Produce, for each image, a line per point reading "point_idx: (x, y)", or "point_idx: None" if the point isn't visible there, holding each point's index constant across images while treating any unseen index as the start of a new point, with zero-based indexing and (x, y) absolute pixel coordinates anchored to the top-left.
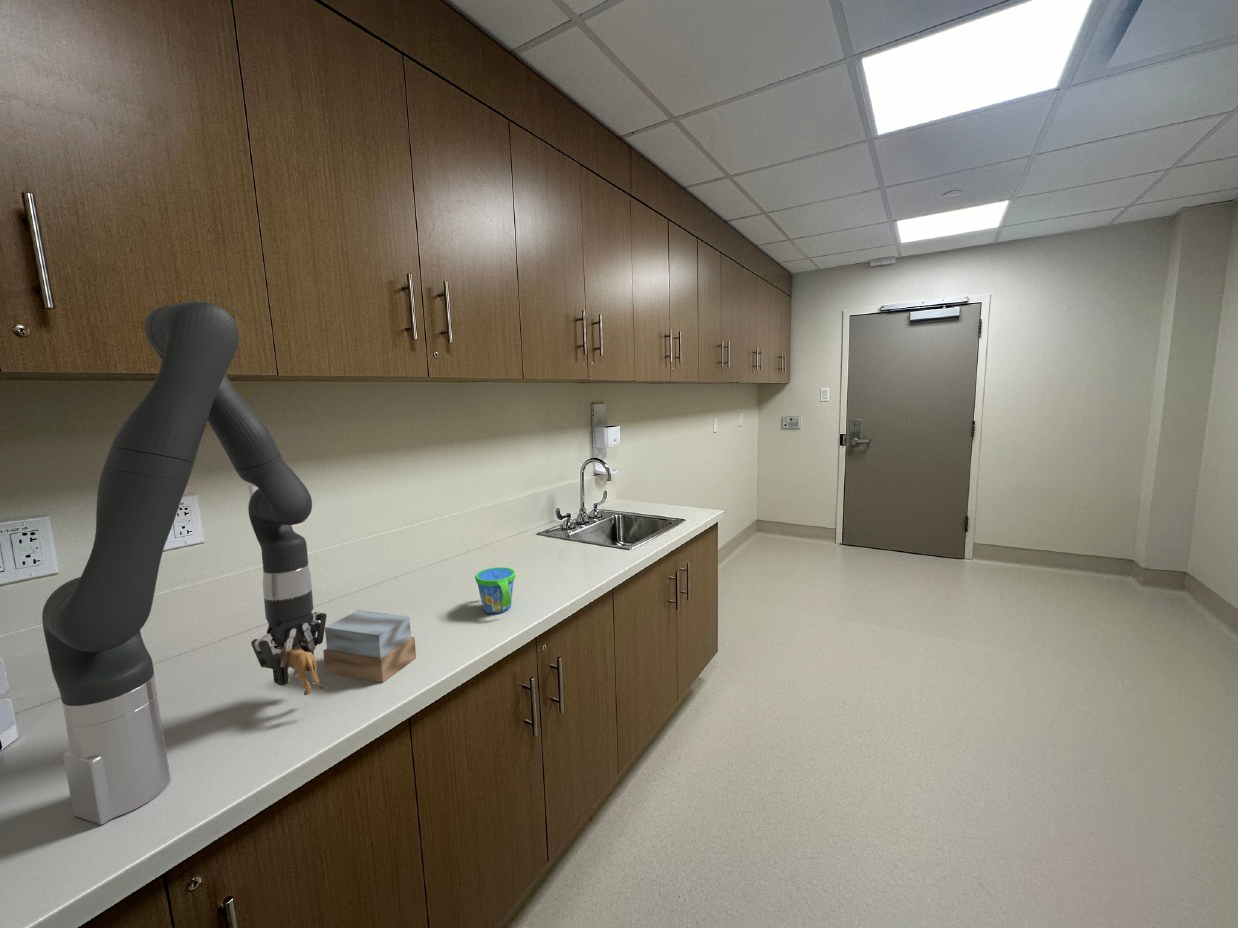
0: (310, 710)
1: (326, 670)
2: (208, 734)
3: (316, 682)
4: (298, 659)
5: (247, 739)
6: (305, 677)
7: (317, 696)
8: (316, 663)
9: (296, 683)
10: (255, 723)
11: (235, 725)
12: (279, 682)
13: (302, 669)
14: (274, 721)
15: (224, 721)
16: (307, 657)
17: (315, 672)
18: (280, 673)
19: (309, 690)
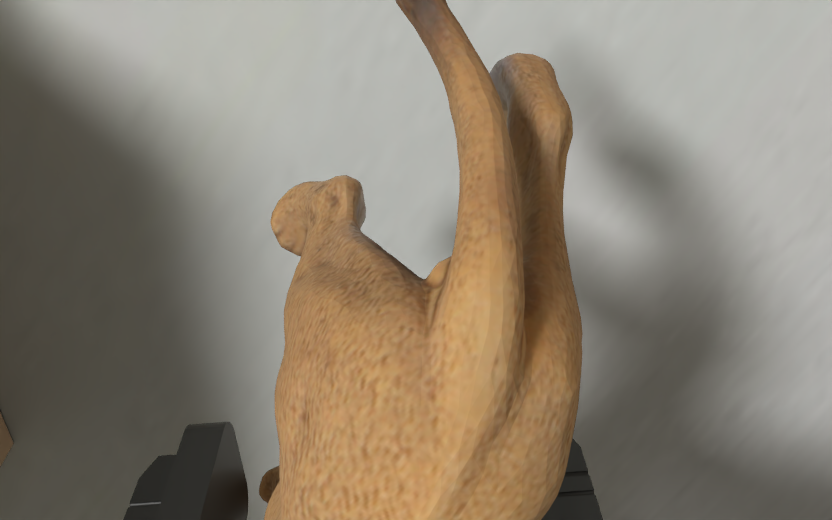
0: (417, 97)
1: (1, 448)
2: (784, 463)
3: (467, 41)
4: (551, 499)
5: (812, 214)
6: (550, 190)
7: (254, 222)
8: (314, 288)
9: None
10: (650, 328)
11: (689, 414)
12: (575, 445)
13: (567, 301)
14: (605, 232)
15: (665, 497)
16: (484, 409)
17: (345, 227)
18: (584, 517)
19: (535, 60)
